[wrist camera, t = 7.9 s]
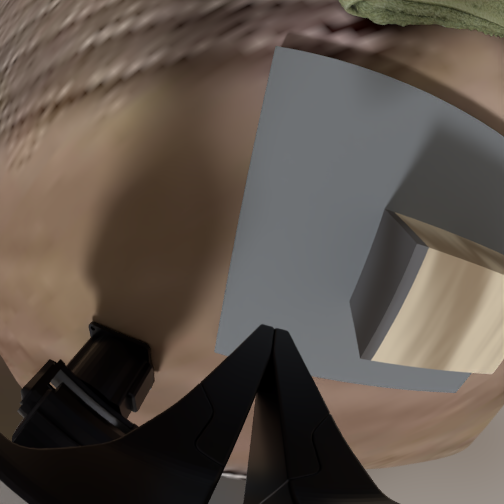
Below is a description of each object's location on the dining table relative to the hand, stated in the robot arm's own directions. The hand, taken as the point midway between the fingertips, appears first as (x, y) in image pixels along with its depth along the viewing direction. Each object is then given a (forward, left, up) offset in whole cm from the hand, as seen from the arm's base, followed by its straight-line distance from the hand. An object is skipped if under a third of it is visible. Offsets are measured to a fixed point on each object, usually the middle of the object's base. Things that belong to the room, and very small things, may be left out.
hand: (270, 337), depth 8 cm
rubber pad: (+8, 0, -9) cm, 12 cm away
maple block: (+5, 0, -6) cm, 7 cm away
